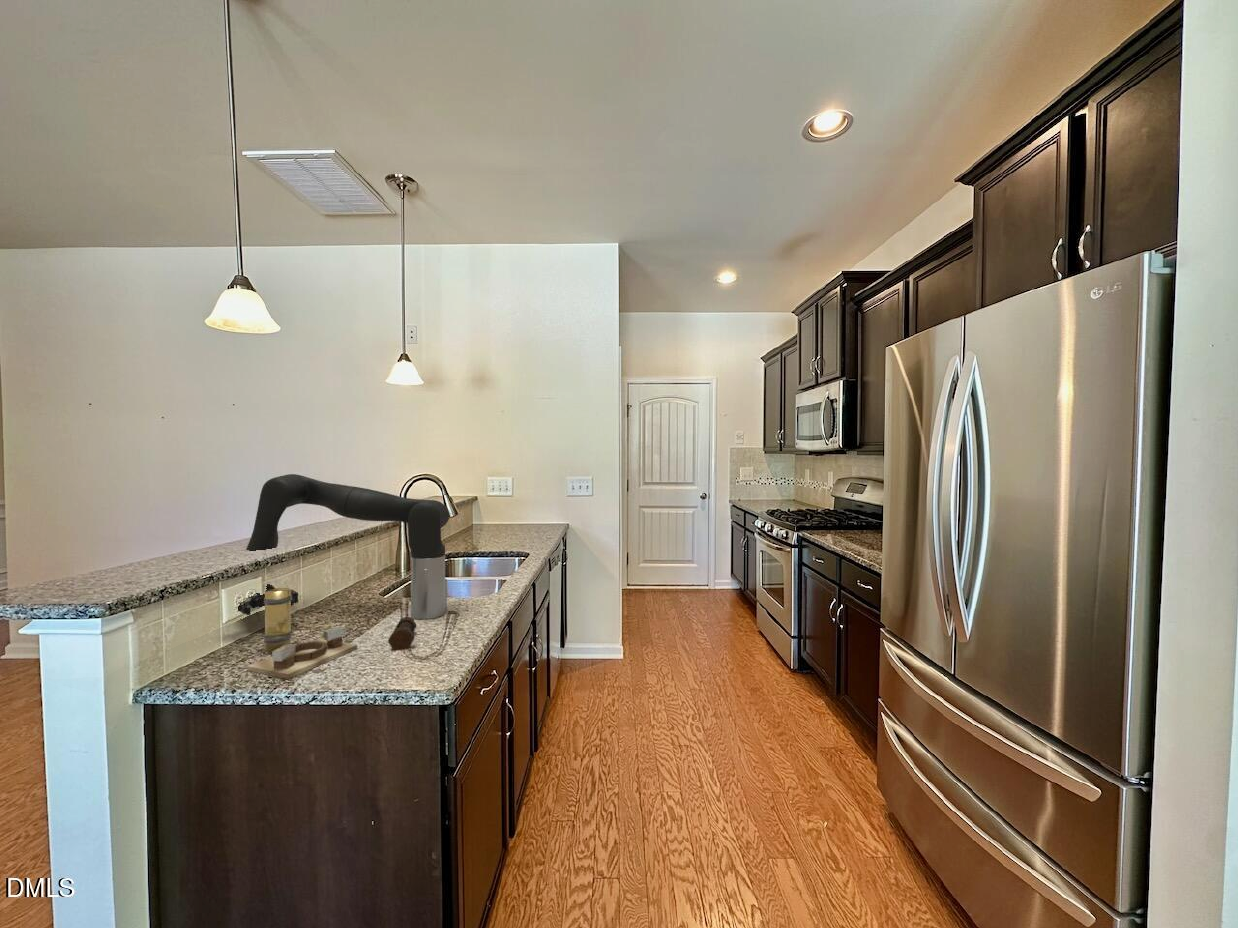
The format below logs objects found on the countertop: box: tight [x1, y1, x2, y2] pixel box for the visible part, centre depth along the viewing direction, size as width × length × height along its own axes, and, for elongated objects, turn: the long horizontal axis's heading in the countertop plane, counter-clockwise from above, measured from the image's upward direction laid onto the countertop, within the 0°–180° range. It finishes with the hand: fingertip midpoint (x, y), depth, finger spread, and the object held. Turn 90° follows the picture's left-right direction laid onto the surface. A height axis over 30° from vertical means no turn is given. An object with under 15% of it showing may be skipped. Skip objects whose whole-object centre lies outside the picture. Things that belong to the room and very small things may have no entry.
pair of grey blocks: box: [271, 625, 346, 661], centre depth 108 cm, size 17×3×2 cm, turn 161°
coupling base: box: [246, 637, 358, 680], centre depth 109 cm, size 17×12×3 cm
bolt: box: [387, 616, 417, 651], centre depth 122 cm, size 6×5×15 cm
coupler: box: [263, 587, 293, 654], centre depth 114 cm, size 5×5×14 cm
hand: (270, 607), depth 121 cm, fingers open, 8 cm apart
